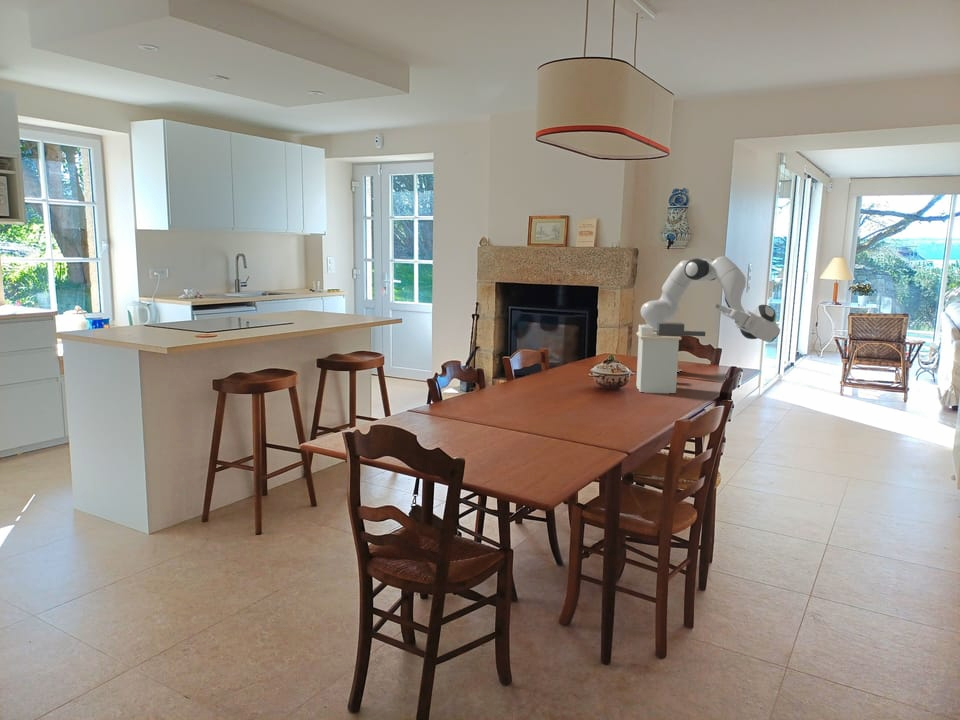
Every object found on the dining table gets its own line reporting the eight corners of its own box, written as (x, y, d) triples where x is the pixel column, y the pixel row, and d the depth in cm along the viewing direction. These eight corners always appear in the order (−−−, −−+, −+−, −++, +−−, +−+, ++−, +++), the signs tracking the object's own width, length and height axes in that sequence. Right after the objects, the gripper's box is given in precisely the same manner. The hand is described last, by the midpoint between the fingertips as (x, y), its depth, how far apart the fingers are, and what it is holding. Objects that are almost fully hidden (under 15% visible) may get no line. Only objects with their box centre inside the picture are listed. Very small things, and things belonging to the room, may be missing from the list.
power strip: (649, 333, 322) (649, 324, 322) (652, 336, 311) (652, 327, 310) (638, 332, 323) (638, 324, 322) (641, 335, 311) (641, 326, 311)
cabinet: (671, 386, 328) (674, 333, 324) (678, 394, 311) (681, 337, 306) (633, 385, 330) (636, 332, 326) (638, 392, 312) (641, 336, 308)
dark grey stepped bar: (702, 334, 317) (703, 323, 317) (706, 336, 311) (707, 324, 310) (651, 333, 320) (651, 322, 319) (653, 335, 313) (653, 323, 312)
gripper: (742, 312, 321) (716, 298, 321) (755, 316, 300) (727, 301, 301) (735, 323, 322) (709, 310, 322) (747, 328, 302) (719, 314, 302)
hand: (718, 306), depth 311 cm, fingers open, 8 cm apart
